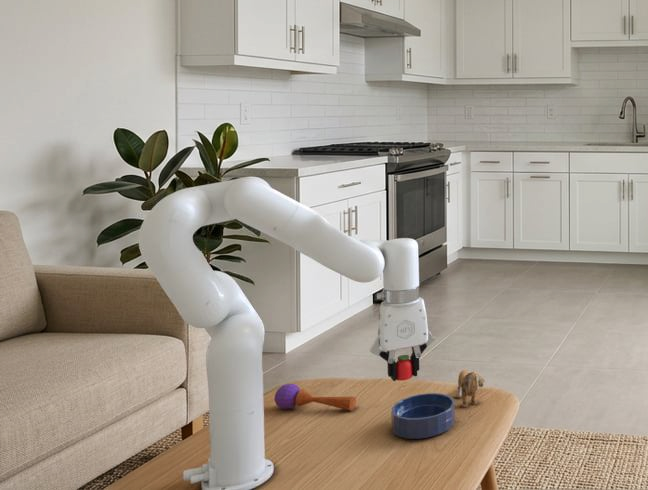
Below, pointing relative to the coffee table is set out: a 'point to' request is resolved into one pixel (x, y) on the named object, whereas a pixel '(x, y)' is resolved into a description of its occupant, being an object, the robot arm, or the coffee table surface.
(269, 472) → the robot arm
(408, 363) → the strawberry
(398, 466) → the coffee table surface
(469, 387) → the tan animal figure
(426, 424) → the bowl
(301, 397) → the maraca
